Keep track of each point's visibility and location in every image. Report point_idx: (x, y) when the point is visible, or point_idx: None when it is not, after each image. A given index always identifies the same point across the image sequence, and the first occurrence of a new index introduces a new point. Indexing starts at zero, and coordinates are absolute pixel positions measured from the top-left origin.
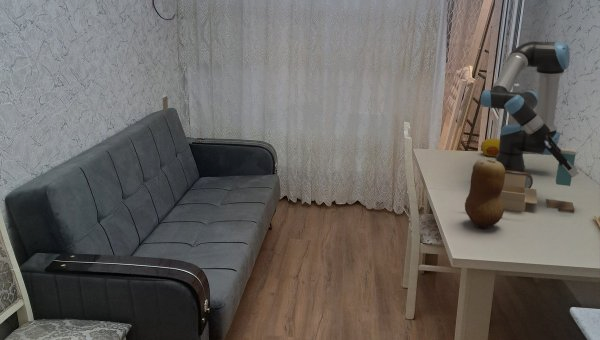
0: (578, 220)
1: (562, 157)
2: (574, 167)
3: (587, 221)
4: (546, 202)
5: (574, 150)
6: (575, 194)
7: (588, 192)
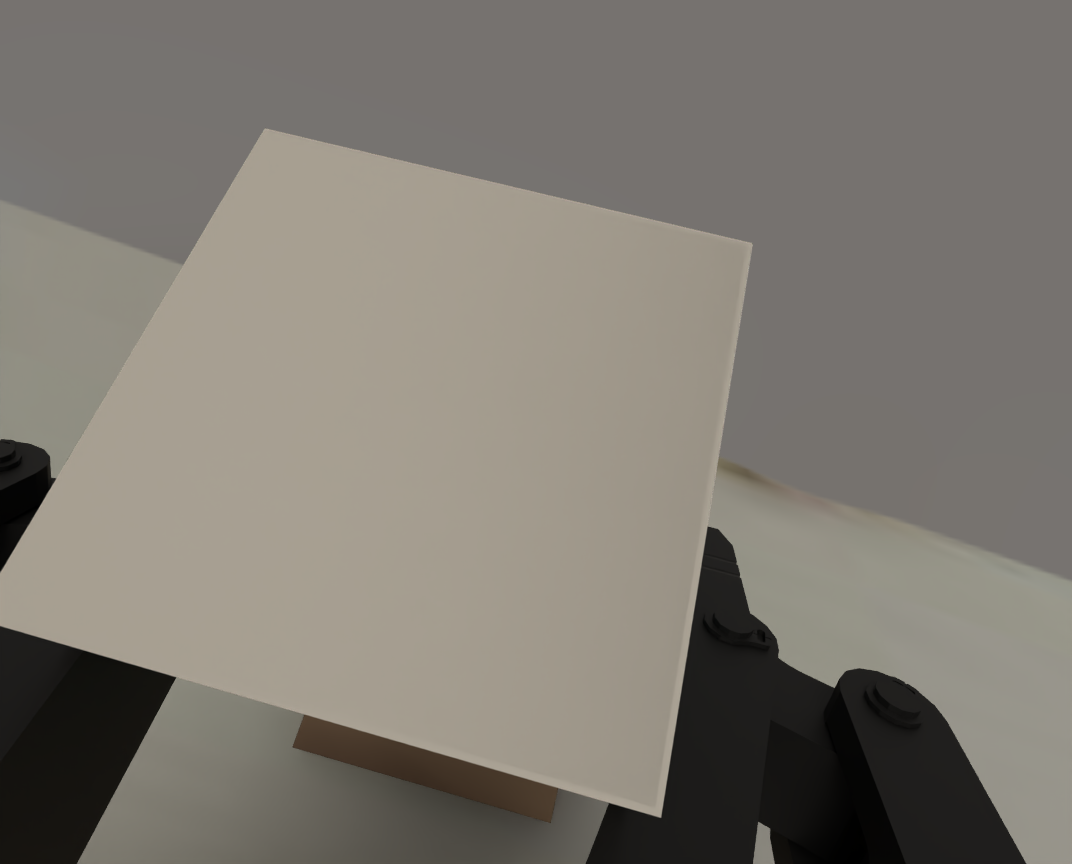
0: (791, 597)
1: (995, 858)
2: None
3: (791, 530)
4: (405, 779)
5: (514, 220)
6: (78, 374)
7: (32, 255)
